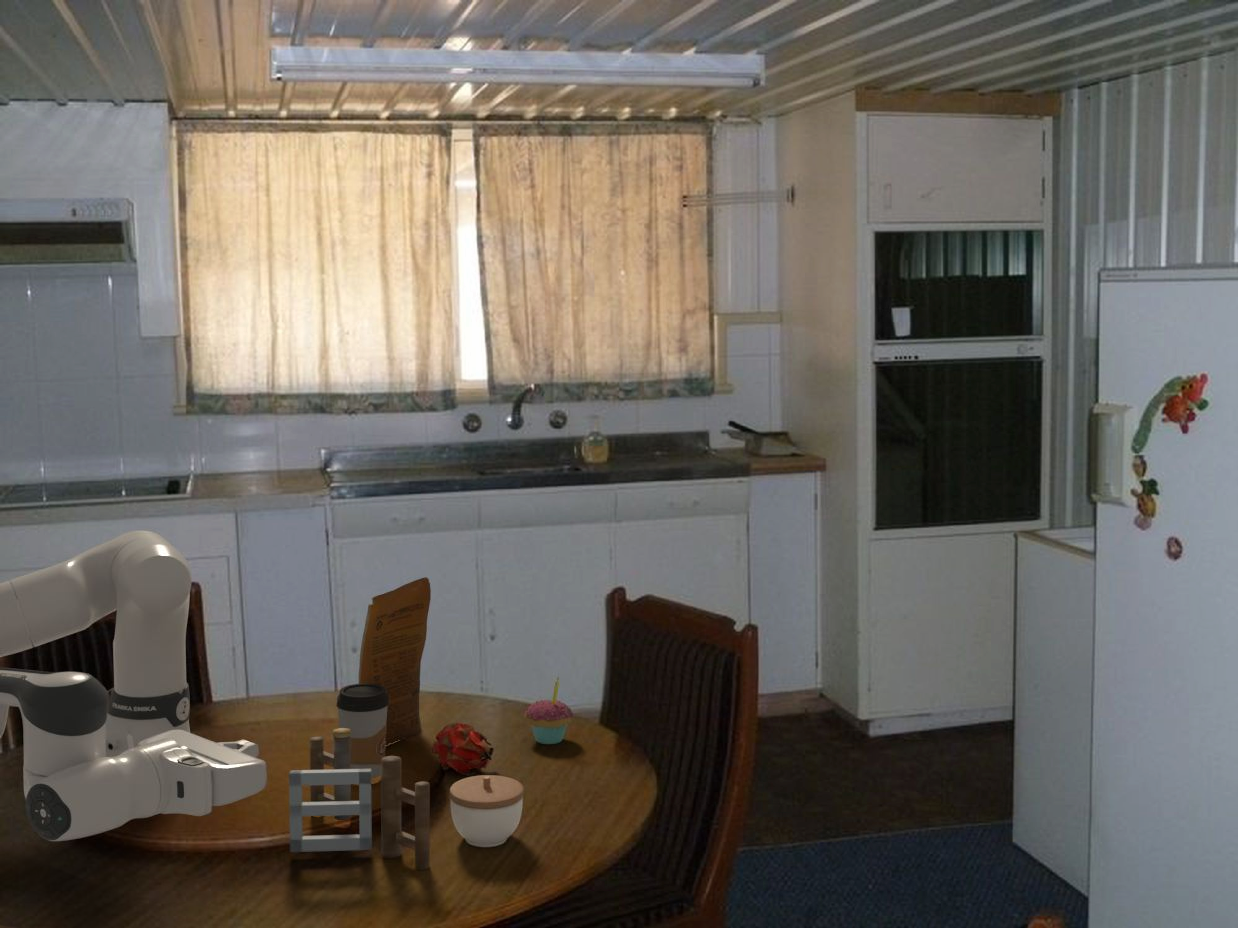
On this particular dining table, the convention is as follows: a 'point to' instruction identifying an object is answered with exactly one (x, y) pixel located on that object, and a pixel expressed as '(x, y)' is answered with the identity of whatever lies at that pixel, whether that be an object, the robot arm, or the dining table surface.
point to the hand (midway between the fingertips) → (252, 747)
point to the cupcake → (549, 719)
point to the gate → (330, 809)
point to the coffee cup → (364, 724)
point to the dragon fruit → (462, 748)
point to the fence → (389, 798)
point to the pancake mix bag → (397, 653)
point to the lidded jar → (486, 808)
